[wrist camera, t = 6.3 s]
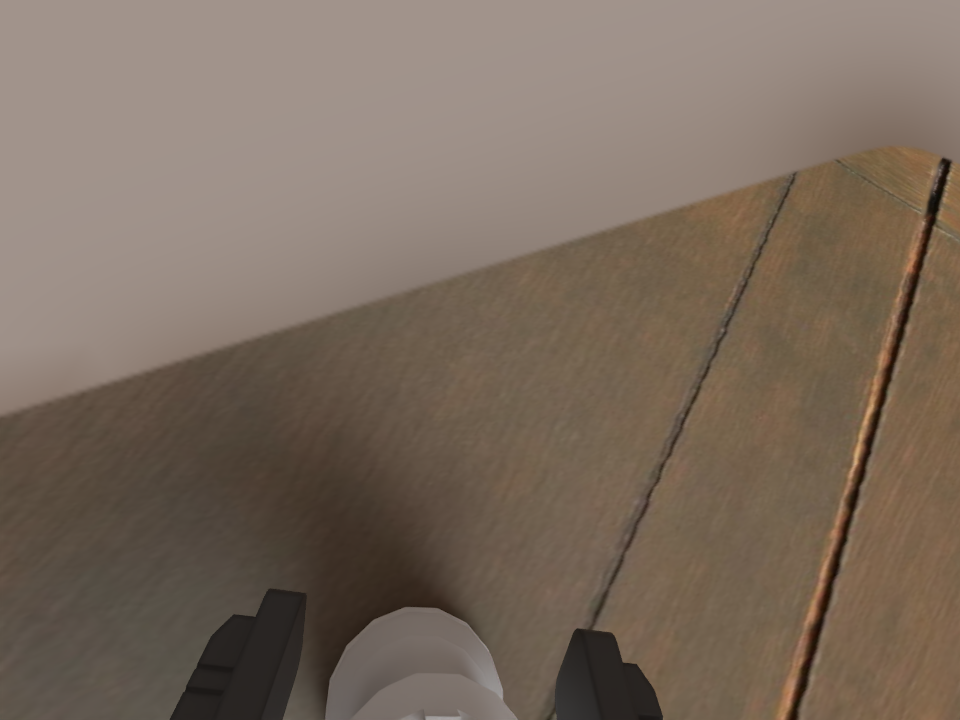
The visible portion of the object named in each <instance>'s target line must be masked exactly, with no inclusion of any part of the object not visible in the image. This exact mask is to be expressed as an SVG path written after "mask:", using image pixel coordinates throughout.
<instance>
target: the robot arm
mask: <svg viewBox="0 0 960 720" xmlns="http://www.w3.org/2000/svg"><path fill="white" fill-rule="evenodd" d="M306 599H307V595H306V593H301V592H293V591H285V590H277V589H269V590H268V591H267V592H266V594H265V596H264V598H263V601H262V603H261V606H260V608H259V610H258V613H257V615H256V617H252V616H243V615H235V614H234V615H233V616H232V617H230V618H229V619H228V620H227V621H226V622H225V623H224V624H223V625H222V626H221V627H220V628H219V629H218V630H217V631H216V632H215V633H214V634H213V635H212V636H211V638H210V640H209V642H208V644H207V646H206V648H205V650H204V652H203V654H202V656H201V658H200V660H199V662H198V664H197V668H196V669H195V670H194V672H193V674H192V676H191V678H190V680H189V682H188V684H187V686H186V690H185V692H183V694H182V696H181V698H180V700H179V702H178V704H177V706H176V708H175V710H174V712H173V714H172V716H171V718H170V720H282V719H283V716H284V712H285V709H286V706H287V703H288V699H289V696H290V693H291V690H292V687H293V683H294V680H295V677H296V673H297V669H298V665H299V660H300V655H301V650H302V642H303V632H304V621H305V610H306ZM555 706H556V715H557V720H663V715H662V712H661V709H660V706H659V703H658V700H657V697H656V694H655V691H654V689H653V687H652V686H651V684H650V683H649V681H648V680H647V678H646V677H645V676H644V674H643V673H642V671H641V670H640V668H639V667H638V665H637V664H631V663H623V662H622V658H621V655H620V651H619V648H618V644H617V641H616V638H615V636H614V635H613V634H612V633H610V632H602V631H594V630H586V629H576V630H575V631H574V633H573V635H572V638H571V641H570V643H569V646H568V649H567V652H566V654H565V657H564V660H563V663H562V665H561V668H560V671H559V674H558V677H557V682H556V690H555Z"/></svg>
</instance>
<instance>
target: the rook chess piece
mask: <svg viewBox="0 0 960 720" xmlns="http://www.w3.org/2000/svg"><path fill="white" fill-rule="evenodd" d="M325 720H518V719H517V718H516V716H515V715H514V714H513V713H512V712H511V710H510V709H509V708H508V707H507V705H506V704H505V703H504V702H503V689H502V686H501V683H500V680H499V677H498V674H497V671H496V668H495V665H494V662H493V659H492V656H491V654H490V653H489V650H488V648H487V647H486V646H485V645H484V643H483V642H482V641H481V640H480V638H479V637H478V636H477V635H476V634H475V632H474V631H473V630H472V629H471V628H470V626H469V625H468V624H467V623H466V622H464V621H462V620H460V619H458V618H456V617H454V616H452V615H450V614H448V613H446V612H444V611H442V610H440V609H438V608H421V607H404V608H402V609H399V610H396V611H394V612H391V613H389V614H386V615H384V616H381V617H379V618H376V619H374V620H373V621H372V622H371V623H370V624H369V625H368V626H366V627H365V628H364V629H363V630H362V631H361V632H360V633H359V634H358V635H357V636H356V637H355V638H354V639H353V640H352V641H351V642H350V643H349V644H348V645H347V646H346V648H345V650H344V652H343V654H342V656H341V658H340V660H339V662H338V664H337V666H336V668H335V670H334V672H333V674H332V676H331V678H330V682H329V690H328V698H327V706H326V714H325Z"/></svg>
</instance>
